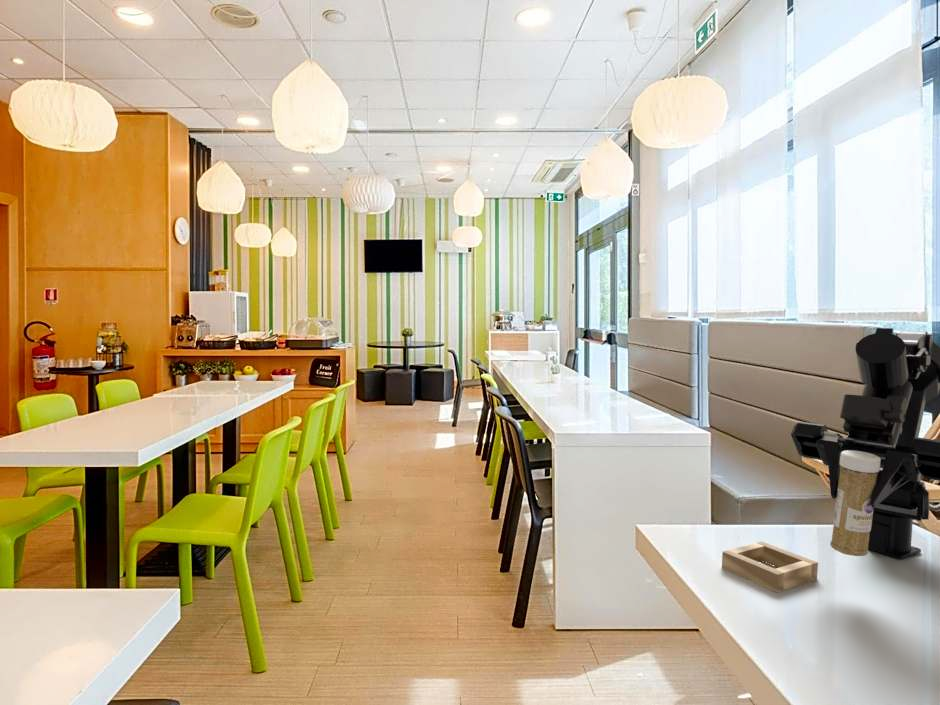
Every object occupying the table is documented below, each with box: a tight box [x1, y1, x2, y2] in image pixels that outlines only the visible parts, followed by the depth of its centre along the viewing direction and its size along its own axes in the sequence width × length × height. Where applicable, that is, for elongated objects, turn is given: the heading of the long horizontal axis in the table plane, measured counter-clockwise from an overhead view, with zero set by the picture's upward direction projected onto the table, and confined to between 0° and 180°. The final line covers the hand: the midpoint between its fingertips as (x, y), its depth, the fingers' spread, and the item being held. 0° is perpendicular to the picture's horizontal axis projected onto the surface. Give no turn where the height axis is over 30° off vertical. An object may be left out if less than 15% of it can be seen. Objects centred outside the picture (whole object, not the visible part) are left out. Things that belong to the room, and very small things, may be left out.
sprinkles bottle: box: [829, 450, 881, 557], centre depth 85 cm, size 5×5×13 cm
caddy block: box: [721, 541, 819, 593], centre depth 92 cm, size 9×9×2 cm
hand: (852, 501), depth 84 cm, fingers closed on sprinkles bottle, 4 cm apart
